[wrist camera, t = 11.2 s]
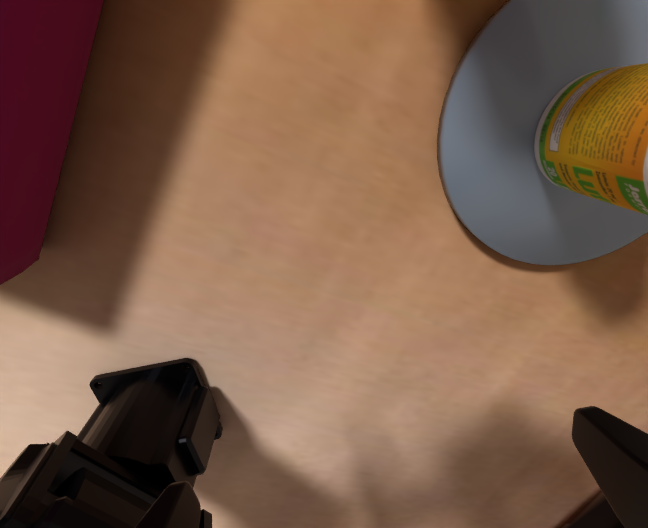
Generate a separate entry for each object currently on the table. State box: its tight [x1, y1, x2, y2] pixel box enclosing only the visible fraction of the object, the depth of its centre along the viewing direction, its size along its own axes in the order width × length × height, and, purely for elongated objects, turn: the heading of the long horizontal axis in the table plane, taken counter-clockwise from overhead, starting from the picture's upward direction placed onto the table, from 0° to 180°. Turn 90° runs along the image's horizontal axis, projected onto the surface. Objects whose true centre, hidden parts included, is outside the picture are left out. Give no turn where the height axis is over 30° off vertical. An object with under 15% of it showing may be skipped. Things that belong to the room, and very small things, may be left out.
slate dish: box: [437, 0, 648, 265], centre depth 18 cm, size 14×14×1 cm
